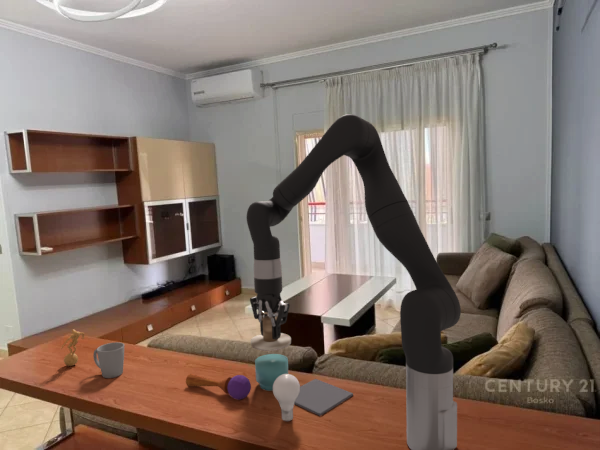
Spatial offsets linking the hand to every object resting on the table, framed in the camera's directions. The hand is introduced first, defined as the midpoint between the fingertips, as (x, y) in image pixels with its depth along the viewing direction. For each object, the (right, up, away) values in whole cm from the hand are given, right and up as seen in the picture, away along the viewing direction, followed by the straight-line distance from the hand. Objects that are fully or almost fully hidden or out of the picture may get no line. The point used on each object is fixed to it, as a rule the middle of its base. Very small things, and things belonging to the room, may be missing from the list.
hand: (270, 336), depth 115 cm
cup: (-49, -15, +12) cm, 53 cm away
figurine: (-64, -14, +18) cm, 68 cm away
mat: (+13, -14, -6) cm, 20 cm away
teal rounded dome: (0, -14, +1) cm, 14 cm away
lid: (0, -2, 0) cm, 2 cm away
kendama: (-14, -15, -2) cm, 21 cm away
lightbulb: (+5, -15, -17) cm, 23 cm away
